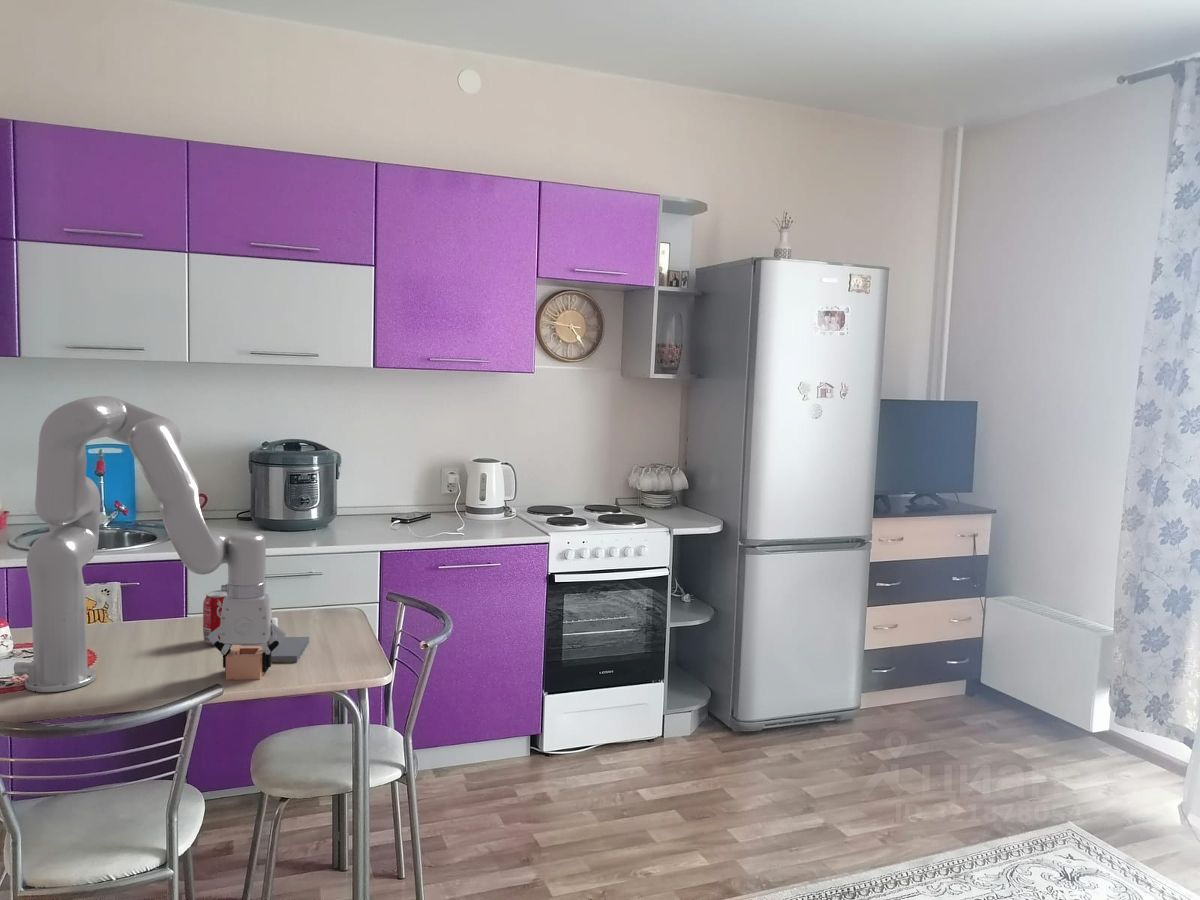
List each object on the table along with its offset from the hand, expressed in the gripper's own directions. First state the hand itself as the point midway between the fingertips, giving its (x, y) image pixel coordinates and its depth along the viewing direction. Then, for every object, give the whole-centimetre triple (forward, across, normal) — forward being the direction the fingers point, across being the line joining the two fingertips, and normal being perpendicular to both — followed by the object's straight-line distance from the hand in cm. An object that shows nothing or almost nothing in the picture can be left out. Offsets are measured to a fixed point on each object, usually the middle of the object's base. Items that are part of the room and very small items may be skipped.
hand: (247, 669), depth 193 cm
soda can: (+1, -12, +22) cm, 25 cm away
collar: (+1, 0, 0) cm, 1 cm away
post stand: (+1, +2, +14) cm, 14 cm away
